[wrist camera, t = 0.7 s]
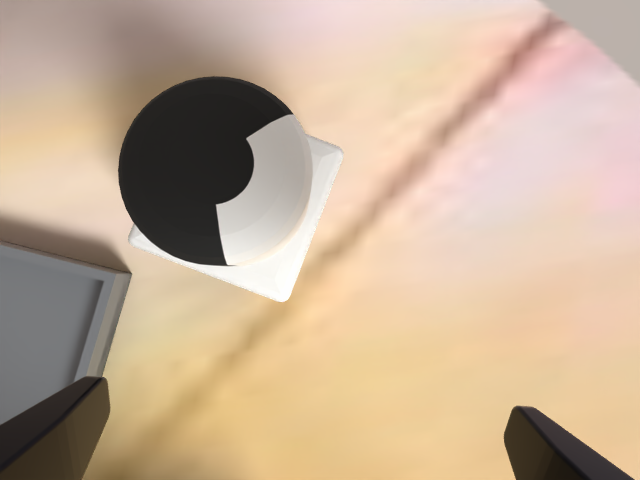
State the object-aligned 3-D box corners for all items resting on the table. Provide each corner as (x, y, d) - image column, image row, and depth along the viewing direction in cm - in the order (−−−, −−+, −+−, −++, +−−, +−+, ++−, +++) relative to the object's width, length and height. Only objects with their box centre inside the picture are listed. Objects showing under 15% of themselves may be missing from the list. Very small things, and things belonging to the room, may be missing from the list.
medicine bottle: (175, 251, 23) (46, 231, 11) (222, 140, 24) (145, 11, 12) (290, 294, 23) (280, 320, 12) (333, 183, 24) (365, 98, 12)
